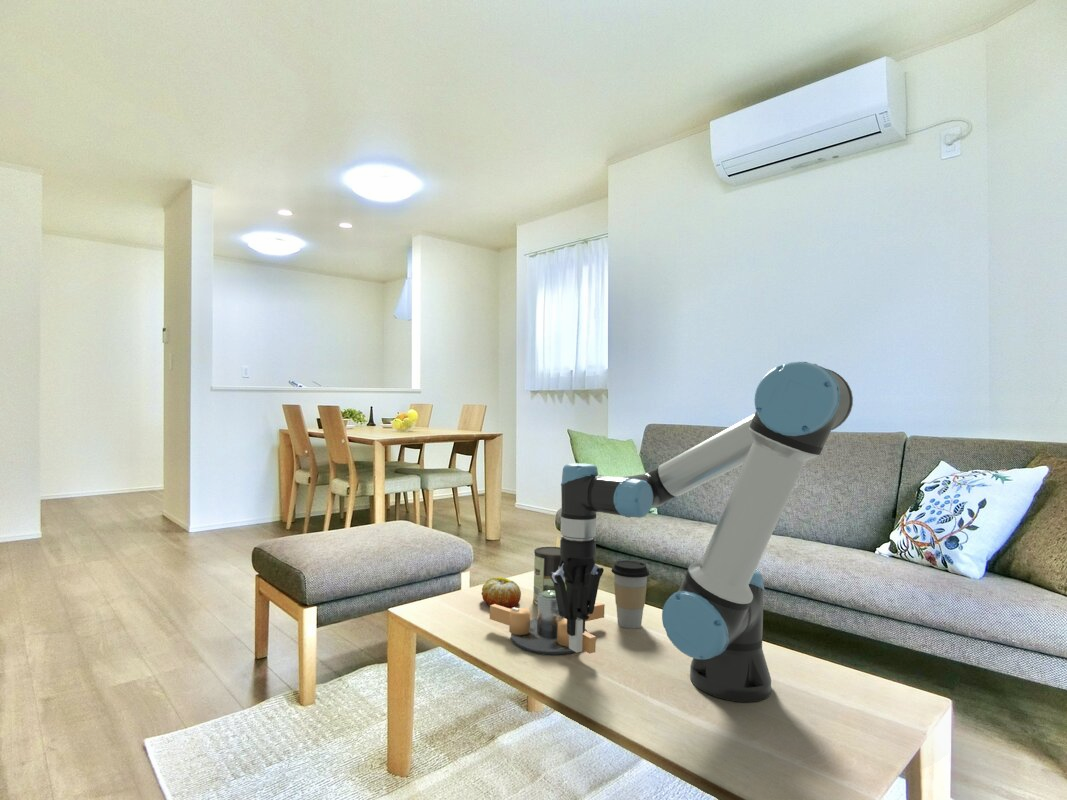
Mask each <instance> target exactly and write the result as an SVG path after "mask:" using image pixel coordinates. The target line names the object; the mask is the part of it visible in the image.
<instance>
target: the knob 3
mask: <svg viewBox="0 0 1067 800" xmlns="http://www.w3.org/2000/svg"><path fill="white" fill-rule="evenodd" d="M605 606H606V605H605V604H604V603H603V602H601V601H600V602H595V606H594V611H593V613H592V614H588V615H587V616H589V619H588V620H585V623H586V622H590V621H595V620H598V619H603V618H605V608H606V607H605ZM588 607H589V606H588Z"/></svg>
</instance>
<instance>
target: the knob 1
mask: <svg viewBox="0 0 1067 800" xmlns="http://www.w3.org/2000/svg"><path fill="white" fill-rule="evenodd" d="M531 613H532V611H531V610H530V609H528V608H526V607H525V608H523V607H513V608H506V607H503V606H500V605H496V604H493V605H490V606H489V620H491V621H493V622H498V623H500V624H504V625H507V626H508V627H509V628H508V629H509V630H508V631H509V633H510V634H511V633H512V634H516V635H524V634H528V633H529V632H530V620H531Z"/></svg>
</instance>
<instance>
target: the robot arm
mask: <svg viewBox="0 0 1067 800" xmlns="http://www.w3.org/2000/svg"><path fill="white" fill-rule="evenodd" d="M853 405H854V397H853V391H852V389H851V386H850V385H849V383H848V381H846V379H845V378H844V377H843V376H842V375H840V374H839V373H837V372H836V371H834V370H831V369H828V368H825V367H823V366H821V365H818V364H817V363H811V362H808V361H792V362H787V363H783V364H780V365H778V366H776V367H774V368H772V369H771V370H769V371H768V372H767V373H766V374H765V375H764V376H763V377H762V379H761V380H760V381H759V383H758V385H757V387H756V389H755V392H754V407H755V412H754V413H753V414H751V415H749V416H748V417H746V418H744V419H742V420H741V421H738V422H737V423H735V424H733V425H731V426H730V427H727V428H726V429H723V430H722V431H720V432H718V433H717V434H714V435H713V436H711V437H709V438H708V439H706V440H703V441H701V442H700V443H698V444H696V445H695V446H692V447H691V448H689V449H688V450H686V451H684V452H682V453H680V454H678V455H676V456H675V457H672V458H671V459H669V460H667V461H665V462H663V463H661V464H660V465H658V466H655V467H654V468H651V470H648V471H646V472H645V473H641V474H635V475H628V476H608V475H601V474H599V472H598V467H597V465H596V464H592V463H582V462H581V463H577V462H576V463H567V464H564V466H563V468H562V475H561V483H560V486H561V488H560V489H561V512H560V535H561V537H560V538H559V539H560V540H559V547H560V554H561V562H560V565H559V567H560V568H559V569H558V570H557V571H556V572H555V573H554V572H551V573H550V578H551V579H552V581H553V583H554V589H555V594H556V600H557V606H558V611H559V615H560V616H562V617H563V618H565V619H567V634H569V648H570V649H571V650H573V651H575V652H576V653H577V654H578V653H580V652H583V650H582V639H583V633H584V632H585V629H586V622H585V620H588V619H589V616H587V615H588V614H592V613H593V611H594V606H595V603H596V600H597V596H598V590H599V585H600V580H601V577H602V576H603V573H604V567H601V566H599V565H597V564H596V562H595V558H594V557H595V556H596V551H597V548H596V547H597V545H596V544H597V543H596V542H597V540H596V538H595V537H596V536H597V513H602V514H603V513H604V514H608V515H609V514H611V515H616V516H622V517H625V518H640V519H641V518H644V517H646V516H647V515H648V513H650V512H651V510H652V509H657V508H661V507H664V506H666V505H667V504H669V503H670V502H672V500H674V499H676V498H677V497H679V496H681V495H683V494H685V493H687V492H689V491H692V490H694V489H695V488H697V487H699V486H702V485H704V484H705V483H707V482H709V481H712V480H714V479H715V478H718V477H720V476H721V475H723V474H726V473H728V472H730V471H732V470H734V469H736V468H738V467H740V466H741V469H740V471H739V473H738V476H737V478H736V480H735V483H734V485H733V487H732V490H731V492H730V494H729V496H728V499H727V501H726V504H725V506H724V508H723V511H722V512H721V515H720V517H719V520H718V522H717V524H716V527H715V529H714V531H713V534H712V535H711V538H710V540H709V542H708V544H707V547H706V548H705V551H704V554H703V556H702V558H701V560H700V561H697V562H693V563H691V564H690V565H689V566H688V568H687V571H686V574H685V575H684V578H683V580H682V582H681V584H680V586H679V589H678V591H676V592H673V593H672V594H671V595H670V596H669V598H667V600H666V601H665V602H664V604H663V608H662V613H661V621H662V625H663V628H664V630H665V632H666V635H667V637H668V639H669V641H670V642H671V643H672V645H673V646H674V647H675V648H676V649H677V650H678V651H680V652H681V653H683V655H686V656H688V657H690V658H692V660H691V663H690V668H689V669H690V670H689V672H690V674H689V678H690V681H691V682H692V684H693V685H694V686H695V687H696V688H698V689H699V690H701V691H702V692H704V693H705V694H708V695H709V696H712V697H716V698H718V699H723V700H727V701H730V702H731V701H732V702H740V703H755V702H760V701H763V700H765V699H767V698H768V697H770V695H771V693H772V677H771V673H770V671H769V667H768V664H767V663H768V662H767V659H766V657H765V654H764V650H763V629H764V627H763V626H764V623H763V622H764V592H765V587H764V586H765V584H764V577H763V574H762V573H761V572H760V571H759V570H757V568H758V566H759V563H760V560H761V558H762V556H763V555H764V552H765V550H766V548H767V545H768V544H769V541H770V539H771V537H772V535H773V532H774V530H775V528H776V526H777V525H778V522H779V520H780V518H781V516H782V514H783V511H784V510H785V506H786V505H787V502H788V501H789V499H790V496H791V493H792V492H793V489H794V487H795V484H796V483H797V481H798V479H799V476H800V474H801V473H802V469H803V468H804V465H805V463H806V462H808V461H809V460H813V459H815V458H818V457H820V455H821V453H822V451H823V449H824V447H825V445H826V442H827V440H828V438H829V436H830V434H831V432H832V431H833V430H835V429H837V428H839V427H840V426H842V424H844V423H845V422H846V420H847V419H848V417H849V416H850V414H851V412H852V409H853ZM563 575H564V576H565V578H564V576H563ZM564 579H565V583H564V581H563V580H564ZM565 584H566V587H565ZM588 606H589V607H588Z"/></svg>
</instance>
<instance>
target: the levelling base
mask: <svg viewBox="0 0 1067 800" xmlns="http://www.w3.org/2000/svg"><path fill="white" fill-rule="evenodd" d="M536 616H537V617H536V618H532V619H531V618H530V632H529V633H528V634H524V635H516V634H512V633H510V641H511V643H512V644H513V645H514V646H515V647H516V648H518V649H519V650H521V651H524V652H527V653H530V654H535V655H540V656H549V657H550V656H553V657H554V656H557V657H559V656H569V655H573V654H575V653H576V652H575V651H573V650H571V649H570V648H569V646H562V645H560V644H558V643H557V627H558V620H559V619H562V618H564V617H562V616H560V615H559V611H558V606H557V600H556V594H555V591H553V590H547V591H543V592H541V593H539V594H538V605H537V615H536ZM585 631H586V632H588V630H587V629H586V628H585ZM588 633H589V632H588Z"/></svg>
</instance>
